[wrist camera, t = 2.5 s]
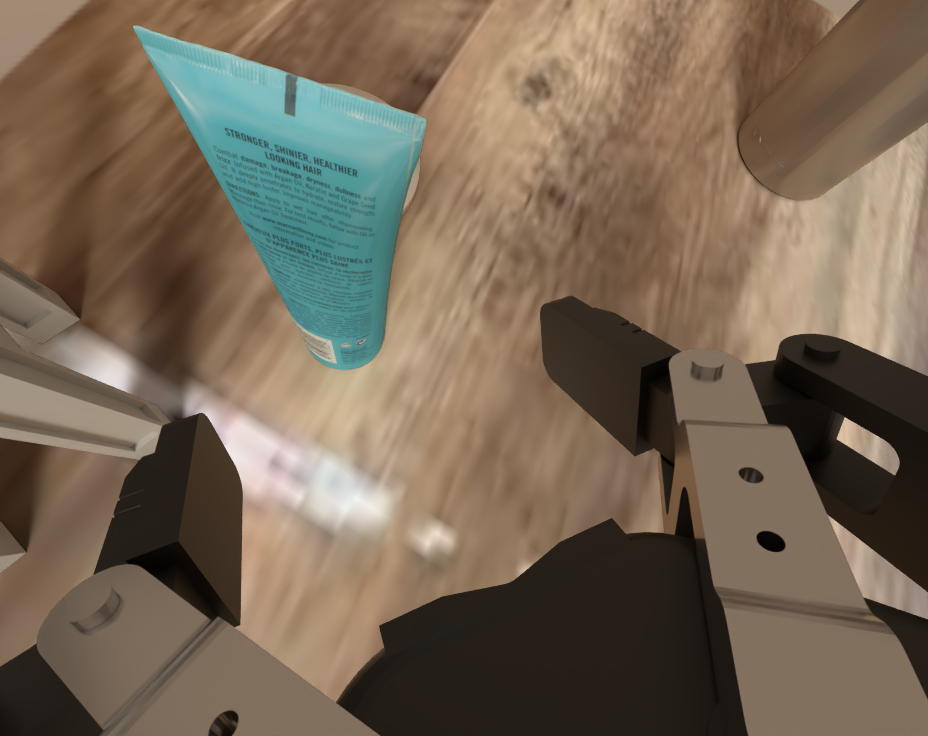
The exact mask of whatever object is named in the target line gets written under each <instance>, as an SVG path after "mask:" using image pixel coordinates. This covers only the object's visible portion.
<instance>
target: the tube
mask: <svg viewBox="0 0 928 736" xmlns="http://www.w3.org/2000/svg"><path fill="white" fill-rule="evenodd" d="M133 28H134V31H135V33H136V34H137V36H138V38H139V40H140V41H141V43H142V46H143V48H144V49H145V51H146V53H147V55H148V57H149V59H150V61H151V63H152V65H153V67H154V68H155V70H156V72H157V73H158V75H159V77H160V79H161V80H162V82H163V84H164V86H165V87H166V89H167V91H168V92H169V94H170V96H171V98H172V99H173V101H174V103H175V105H176V107H177V108H178V110H179V112H180V114H181V115H182V117H183V119H184V121H185V123H186V124H187V126H188V128H189V130H190V132H191V133H192V135H193V137H194V139H195V141H196V142H197V144H198V146H199V148H200V150H201V151H202V153H203V155H204V157H205V159H206V160H207V162H208V164H209V166H210V168H211V169H212V171H213V173H214V175H215V177H216V178H217V180H218V182H219V184H220V186H221V187H222V189H223V191H224V193H225V195H226V196H227V198H228V200H229V202H230V204H231V205H232V207H233V209H234V211H235V213H236V214H237V216H238V218H239V220H240V222H241V224H242V225H243V227H244V229H245V231H246V233H247V234H248V236H249V238H250V240H251V242H252V243H253V245H254V247H255V249H256V251H257V253H258V255H259V256H260V258H261V260H262V262H263V264H264V266H265V267H266V269H267V271H268V273H269V275H270V277H271V279H272V280H273V282H274V284H275V286H276V288H277V290H278V292H279V293H280V295H281V297H282V299H283V301H284V303H285V305H286V307H287V309H288V311H289V312H290V314H291V316H292V318H293V320H294V322H295V324H296V326H297V328H298V330H299V331H300V333H301V335H302V337H303V339H304V341H305V343H306V345H307V347H308V349H309V350H310V352H311V353H312V355H313V356H314V357H315V358H316V359H317V360H318V361H319V362H321V363H322V364H324V365H326V366H328V367H330V368H333V369H338V370H351V369H356V368H359V367H362V366H364V365H366V364H367V363H369V362H370V361H372V360H373V359H374V358H375V357H376V355H377V354H378V353H379V351H380V349H381V347H382V344H383V341H384V333H385V321H386V311H387V301H388V292H389V284H390V277H391V270H392V263H393V257H394V252H395V246H396V241H397V235H398V230H399V226H400V221H401V217H402V212H403V208H404V204H405V200H406V196H407V192H408V189H409V185H410V182H411V179H412V175H413V172H414V170H415V167H416V165H417V162H418V160H419V157H420V154H421V151H422V146H423V140H424V135H425V130H426V125H427V120H426V118H424V117H422V116H419V115H417V114H413V113H410V112H407V111H403V110H400V109H397V108H394V107H391V106H389V105H386V104H383V103H380V102H377V101H374V100H371V99H368V98H365V97H363V96H360V95H356V94H352V93H349V92H346V91H344V90H341V89H339V88H335V87H331V86H327V85H324V84H321V83H318V82H315V81H312V80H309V79H306V78H303V77H298V76H295V75H293V74H291V73H288V72H285V71H282V70H279V69H276V68H273V67H270V66H267V65H263V64H260V63H258V62H256V61H251V60H247V59H245V58H242V57H239V56H236V55H233V54H230V53H227V52H223V51H219V50H216V49H213V48H210V47H206V46H203V45H200V44H195V43H190V42H186V41H182V40H179V39H177V38H175V37H171V36H168V35H165V34H162V33H158V32H154V31H152V30H149V29H146V28H144V27H141V26H138V25H134V26H133Z"/></svg>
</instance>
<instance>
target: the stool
mask: <svg viewBox="0 0 928 736" xmlns="http://www.w3.org/2000/svg"><path fill="white" fill-rule="evenodd" d="M79 320H80V319H79V318H78V317H77V315H76V314H75V313H74V312H73V311H72V310H71V309H70V307H69V306H68V305H67V304H66V303H65V302H64V301H63V300H62V298H61V297H60V296H59V295H58V294H57V293H56V292H54V291H52V290H51V289H49V288H48V287H46V286H44V285H43V284H41V283H40V282H38V281H36V280H35V279H33V278H32V277H30V276H28V275H27V274H25V273H24V272H22V271H20V270H19V269H17V268H16V267H14V266H12V265H11V264H9V263H8V262H6V261H4V260H3V259H1V258H0V438H6V439H12V440H19V441H25V442H31V443H38V444H44V445H50V446H57V447H63V448H69V449H75V450H82V451H88V452H94V453H101V454H107V455H113V456H120V457H126V458H132V459H138V460H140V459H141V458H142V457H143V456H146V455H149V454H152V453H154V452H155V449H156V445H157V442H158V438H159V434H160V431H161V428H162V426H163V425H165V424H168V423H171V421H170V420H169V419H168V418H167V416H166V415H165V414H164V413H163V412H162V411H161V410H160V408H159V407H158V406H157V405H156V404H153V403H151V402H148V401H146V400H144V399H141V398H139V397H136V396H134V395H131V394H129V393H127V392H124V391H122V390H119V389H117V388H114V387H112V386H109V385H107V384H105V383H102V382H100V381H97V380H95V379H92V378H90V377H88V376H85V375H83V374H80V373H78V372H75V371H73V370H71V369H68V368H66V367H63V366H61V365H58V364H56V363H54V362H51V361H49V360H46V359H44V358H41V357H39V356H36V355H34V354H32V353H29V352H27V351H24V350H22V348H21V347H20V346H19V345H18V344H17V343H16V342H15V340H14V339H13V338H12V337H11V336H10V335H9V334H8V332H7V331H6V330H5V329H4V328H3V327H5V328H8V329H10V330H12V331H14V332H16V333H19V334H21V335H23V336H25V337H28V338H30V339H32V340H34V341H36V342H39V343H41V344H43V343H45V342H46V341H48V340H49V339H51V338H52V337H54V336H56V335H57V334H59V333H60V332H62V331H63V330H65V329H66V328H68V327H69V326H71V325H73V324H74V323H76V322H77V321H79ZM2 326H3V327H2ZM25 553H26V552H25V550H24V549H23V548H22V547H21V545H20V544H19V543H18V542H17V541H16V539H15V538H14V537H13V536H12V534H11V533H10V532H9V531H8V530H7V528H6V527H5V526H4V525H3V523H2V522H1V521H0V573H1V572H2V571H3V570H5V569H6V568H7V567H8V566H10V565H11V564H12V563H14V562H15V561H16V560H17V559H19V558H20V557H21V556H23V555H24V554H25Z"/></svg>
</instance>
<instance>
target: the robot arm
mask: <svg viewBox="0 0 928 736" xmlns="http://www.w3.org/2000/svg"><path fill="white" fill-rule="evenodd" d="M927 122H928V0H859V1H858V2H857V3H856V4H855V5H854V6H853V7H852V8H851V9H850V10H849V12H848V13H847V14H846V15H845V16H844V17H843V18H842V19H841V20H840V21H839V22H838V23H837V24H836V25H835V26H834V27H833V28H832V29H831V30H830V31H829V33H828V34H827V35H826V36H825V37H824V38H823V39H822V40H821V41H820V42H819V43H818V44H817V45H816V46H815V47H814V48H813V49H812V50H811V51H810V52H809V54H808V55H807V56H806V57H805V58H804V59H803V60H802V61H801V62H800V63H799V64H798V65H797V66H796V67H795V68H794V69H793V70H792V71H791V72H790V73H789V75H788V76H787V77H786V78H785V79H784V80H783V81H782V82H781V83H780V84H779V85H778V86H777V87H776V88H775V89H774V90H773V91H772V92H771V93H770V94H769V95H768V96H767V97H766V99H765V100H764V101H763V102H762V103H761V104H760V105H759V106H758V107H757V108H756V109H755V110H754V111H753V112H752V113H751V114H750V115H749V116H748V117H747V119H746V120H745V121H744V122H743V124H742V126H741V128H740V132H739V148H740V152H741V155H742V158H743V160H744V162H745V164H746V166H747V167H748V169H749V170H750V171H751V173H752V174H753V175H754V176H755V177H756V178H757V179H758V181H759V182H760V183H762V184H763V185H764V186H766V187H767V188H768V189H770V190H771V191H773V192H775V193H777V194H779V195H781V196H784V197H787V198H790V199H795V200H811V199H814V198H817V197H819V196H821V195H822V194H824V193H825V192H827V191H828V190H830V189H831V188H833V187H834V186H836V185H837V184H839V183H840V182H841V181H843V180H844V179H846V178H847V177H849V176H850V175H852V174H853V173H855V172H856V171H857V170H859V169H860V168H862V167H863V166H865V165H866V164H868V163H869V162H871V161H872V160H874V159H875V158H877V157H878V156H880V155H881V154H882V153H884V152H885V151H887V150H888V149H890V148H891V147H892V146H894V145H895V144H897V143H898V142H900V141H901V140H903V139H904V138H905V137H907V136H908V135H910V134H911V133H913V132H914V131H916V130H917V129H918V128H920V127H921V126H923V125H924V124H926V123H927ZM540 320H541V336H542V352H543V362H544V366H545V368H546V371H547V373H548V375H549V376H550V378H551V379H552V380H553V381H554V382H555V383H556V384H557V385H558V386H559V387H560V388H561V389H562V390H563V391H564V392H566V393H567V394H568V395H569V396H570V397H571V398H572V399H573V400H574V401H575V402H576V403H578V404H579V405H580V406H581V407H582V408H583V409H584V410H585V411H586V412H587V413H588V414H589V415H591V416H592V417H593V418H594V419H595V420H596V421H597V422H598V423H599V424H600V425H601V426H602V427H604V428H605V429H606V430H607V431H608V432H609V433H610V434H611V435H612V436H613V437H614V438H615V439H617V440H618V441H619V442H620V443H621V444H622V445H623V446H624V447H625V448H626V449H627V450H628V451H630V452H631V453H632V454H633V455H634V456H637V455H639V454H642V453H644V452H646V451H649V450H651V449H653V448H655V449H656V450H657V451H658V452H659V458H658V470H659V481H660V492H661V504H662V515H663V526H664V533H652V532H642V533H630V534H625V533H624V531H623V530H622V529H621V528H620V527H619V526H618V525H617V523H616V522H615V521H614V520H613V519H612V518H611V519H609V520H607V521H604V522H602V523H600V524H598V525H596V526H594V527H591V528H589V529H587V530H585V531H583V532H581V533H578V534H576V535H574V536H572V537H570V538H568V539H566V540H563V541H561V542H560V543H558V544H557V545H556V546H555V547H554V548H552V549H551V550H550V551H549V552H548V553H546V554H545V555H544V556H543V557H542V558H540V559H539V560H538V561H537V562H536V563H534V564H533V565H532V566H531V567H530V568H528V569H527V570H526V571H525V572H524V573H522V574H521V575H520V576H519V577H518V578H516V579H515V580H514V581H512V582H510V583H507V584H503V585H498V586H493V587H488V588H483V589H478V590H473V591H468V592H463V593H458V594H453V595H448V596H443V597H440V598H438V599H436V600H434V601H432V602H430V603H427V604H425V605H423V606H421V607H419V608H417V609H414V610H412V611H410V612H408V613H406V614H404V615H402V616H399V617H397V618H395V619H393V620H391V621H389V622H386V623H384V624H382V625H380V626H379V628H380V632H381V636H382V640H383V644H384V648H383V649H382V650H381V651H379V652H378V653H377V654H376V655H375V656H373V657H372V658H371V659H370V660H369V661H368V662H367V663H366V664H365V665H364V666H363V667H362V668H361V669H360V671H359V672H358V673H357V674H356V675H355V677H354V678H353V679H352V680H351V682H350V683H349V684H348V685H347V687H346V688H345V690H344V691H343V693H342V694H341V696H340V697H339V699H338V700H337V702H336V703H335V702H334V701H333V700H331V699H330V698H329V697H327V696H326V695H325V694H323V693H322V692H321V691H319V690H318V689H317V688H315V687H314V686H312V685H311V684H310V683H308V682H307V681H306V680H304V679H303V678H302V677H300V676H299V675H298V674H296V673H295V672H294V671H292V670H291V669H290V668H288V667H287V666H286V665H284V664H283V663H282V662H280V661H279V660H278V659H276V658H275V657H273V656H272V655H271V654H269V653H268V652H267V651H265V650H264V649H263V648H261V647H260V646H259V645H257V644H256V643H255V642H253V641H252V640H251V639H249V638H248V637H247V636H245V635H244V634H243V633H241V632H240V631H238V630H237V629H236V628H234V627H236V626H239V625H240V618H241V561H242V504H243V491H242V484H241V480H240V477H239V474H238V471H237V469H236V467H235V465H234V463H233V461H232V459H231V457H230V456H229V454H228V452H227V450H226V449H225V447H224V445H223V443H222V441H221V440H220V438H219V436H218V434H217V433H216V431H215V429H214V427H213V425H212V424H211V422H210V420H209V419H208V417H207V416H206V415H205V414H203V413H199V414H196V415H193V416H190V417H186V418H183V419H180V420H177V421H174V422H171V423H168V424H165V425H163V426H162V428H161V431H160V434H159V438H158V442H157V445H156V449H155V453H152V454H149V455H146V456H143V457H142V458H141V459H140V460H139V461H138V463H137V464H136V465H135V466H134V468H133V469H132V470H131V471H130V473H129V474H128V475H127V476H126V477H125V480H124V483H123V486H122V489H121V493H120V496H119V498H120V501H118V502H117V505H116V508H115V511H114V516H115V517H114V518H112V520H111V523H110V526H109V529H108V532H107V535H106V538H105V541H104V544H103V547H102V550H101V553H100V556H99V559H98V562H97V565H96V568H95V571H94V574H93V576H91V577H89V578H88V579H86V580H84V581H83V582H81V583H80V584H79V585H77V586H76V587H75V588H73V589H72V590H71V591H70V592H69V593H67V594H66V595H65V596H64V597H63V598H62V599H61V600H60V601H59V602H58V603H57V604H56V605H55V607H54V608H53V609H52V610H51V611H50V613H49V614H48V616H47V617H46V618H45V620H44V622H43V624H42V626H41V628H40V630H39V633H38V636H37V644H35V645H34V646H32V647H31V648H29V649H28V650H26V651H25V652H23V653H21V654H20V655H18V656H17V657H15V658H13V659H12V660H10V661H9V662H7V663H5V664H4V665H2V666H1V667H0V736H928V619H925V618H922V617H919V616H916V615H913V614H910V613H907V612H905V611H902V610H899V609H896V608H893V607H890V606H887V605H884V604H881V603H878V602H875V601H873V600H870V599H867V598H864V597H863V596H862V594H861V591H860V589H859V587H858V584H857V582H856V580H855V578H854V575H853V573H852V571H851V568H850V566H849V564H848V561H847V559H846V557H845V555H844V552H843V550H842V548H841V545H840V543H839V541H838V538H837V536H836V534H835V532H834V529H833V527H832V525H831V522H830V520H829V518H828V515H829V516H830V517H831V518H833V519H834V520H835V521H837V522H838V523H839V524H840V525H842V526H843V527H844V528H846V529H847V530H848V531H850V532H851V533H852V534H853V535H855V536H856V537H857V538H859V539H860V540H861V541H862V542H864V543H865V544H866V545H868V546H869V547H870V548H871V549H873V550H874V551H875V552H877V553H878V554H879V555H881V556H882V557H883V558H884V559H886V560H887V561H888V562H890V563H891V564H892V565H893V566H895V567H896V568H897V569H899V570H900V571H901V572H903V573H904V574H905V575H906V576H908V577H909V578H910V579H912V580H913V581H914V582H915V583H917V584H918V585H919V586H921V587H922V588H923V589H924V590H926V591H927V592H928V376H926V375H924V374H921V373H919V372H917V371H914V370H912V369H910V368H908V367H905V366H903V365H901V364H898V363H896V362H894V361H892V360H889V359H887V358H885V357H882V356H880V355H878V354H876V353H873V352H871V351H869V350H866V349H864V348H862V347H860V346H857V345H855V344H853V343H850V342H848V341H846V340H843V339H840V338H836V337H832V336H827V335H820V334H800V335H794V336H790V337H788V338H785V339H784V340H782V342H781V343H780V345H779V349H778V353H777V357H776V360H773V361H766V362H759V363H751V364H744V363H743V362H742V361H741V360H739V359H738V358H736V357H735V356H733V355H730V354H728V353H725V352H722V351H718V350H712V349H690V350H685V351H682V352H681V351H679V350H678V349H676V348H674V347H672V346H671V345H669V344H667V343H666V342H664V341H662V340H660V339H659V338H657V337H655V336H653V335H652V334H650V333H648V332H647V331H645V330H643V331H642V330H641V328H640V327H638V326H636V325H635V324H633V323H631V324H630V323H629V321H628V320H626V319H624V318H622V317H621V316H619V315H617V314H616V313H613V312H609V311H605V310H601V309H598V308H592V307H590V306H589V305H587V304H585V303H584V302H582V301H580V300H579V299H577V298H575V297H573V296H568V297H565V298H562V299H558V300H555V301H552V302H549V303H546V304H544V305H543V306H542V307H541V311H540ZM845 417H846V418H847V419H849V420H851V421H853V422H854V423H856V424H858V425H860V426H861V427H863V428H865V429H866V430H868V431H870V432H872V433H873V434H875V435H877V436H879V437H880V438H882V439H884V440H885V441H887V442H888V443H889V444H890V445H891V446H892V447H893V448H894V449H895V451H896V452H897V454H898V457H899V461H900V465H899V469H898V471H897V473H896V475H895V476H894V475H893V474H891V473H890V472H888V471H886V470H885V469H883V468H882V467H880V466H878V465H877V464H875V463H874V462H872V461H870V460H869V459H867V458H866V457H864V456H862V455H861V454H859V453H858V452H856V451H854V450H853V449H851V448H850V447H848V446H846V445H845V444H843V443H842V442H840V441H838V440H837V436H838V433H839V431H840V428H841V425H842V423H843V420H844V418H845ZM827 514H828V515H827Z"/></svg>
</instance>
